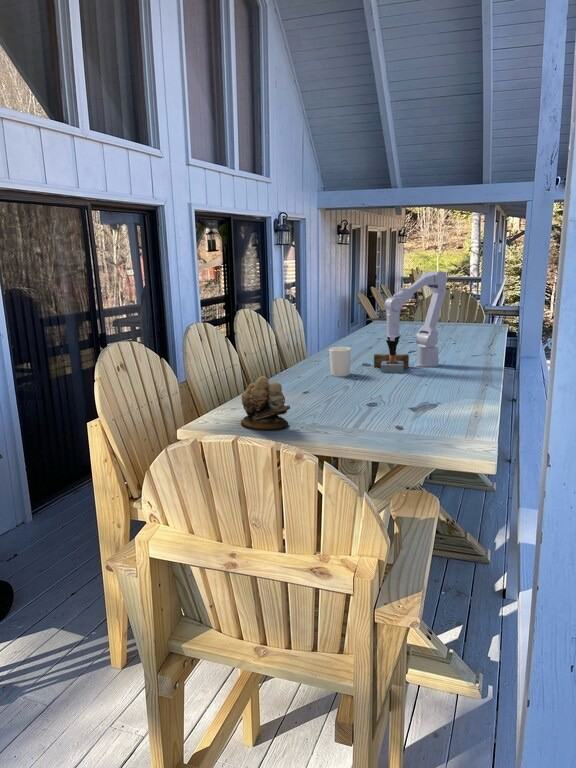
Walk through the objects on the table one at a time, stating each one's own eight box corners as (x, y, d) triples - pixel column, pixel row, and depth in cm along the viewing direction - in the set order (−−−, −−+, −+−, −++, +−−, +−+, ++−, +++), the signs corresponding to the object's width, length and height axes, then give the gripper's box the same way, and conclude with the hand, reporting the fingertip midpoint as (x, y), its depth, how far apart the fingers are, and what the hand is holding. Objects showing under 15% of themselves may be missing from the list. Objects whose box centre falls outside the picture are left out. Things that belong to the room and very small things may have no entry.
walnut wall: (408, 366, 259) (408, 354, 258) (408, 368, 256) (408, 355, 255) (374, 366, 263) (374, 354, 261) (373, 367, 260) (373, 355, 258)
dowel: (396, 368, 254) (396, 351, 252) (396, 370, 251) (396, 352, 249) (389, 368, 255) (389, 351, 253) (389, 369, 252) (389, 352, 250)
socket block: (403, 369, 257) (403, 360, 256) (403, 373, 247) (403, 365, 246) (381, 368, 259) (382, 360, 258) (380, 373, 250) (380, 365, 249)
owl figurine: (297, 422, 184) (295, 373, 179) (282, 434, 173) (280, 382, 169) (250, 417, 191) (248, 369, 187) (233, 427, 181) (230, 377, 177)
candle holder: (343, 378, 242) (343, 351, 239) (325, 375, 248) (324, 349, 245) (355, 373, 249) (354, 347, 246) (336, 371, 255) (336, 346, 252)
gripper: (385, 322, 256) (385, 350, 259) (383, 326, 242) (383, 356, 245) (400, 321, 254) (400, 350, 257) (399, 326, 240) (399, 356, 244)
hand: (393, 353), depth 251 cm, fingers open, 7 cm apart
